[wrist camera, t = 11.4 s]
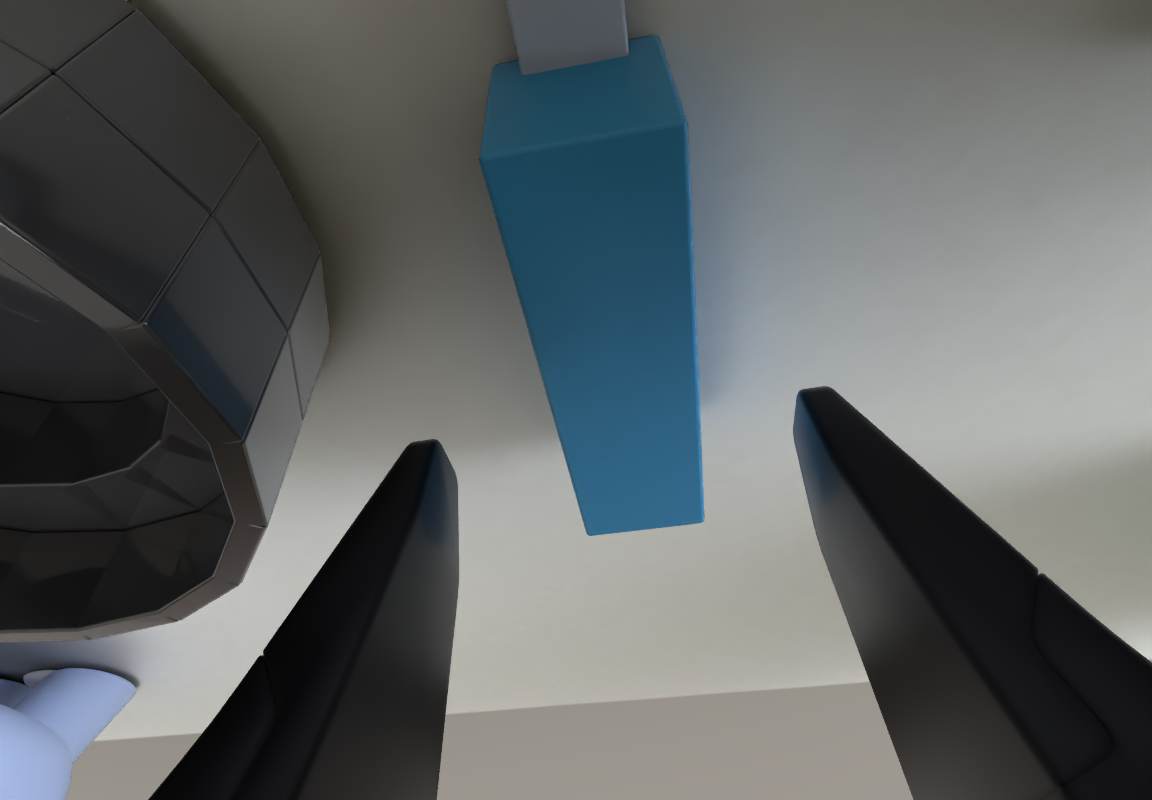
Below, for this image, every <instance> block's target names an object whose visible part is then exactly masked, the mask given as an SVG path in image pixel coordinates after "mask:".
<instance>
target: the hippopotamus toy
mask: <svg viewBox="0 0 1152 800" xmlns="http://www.w3.org/2000/svg"><path fill="white" fill-rule="evenodd" d="M23 680H24V682H25V684H26V685H24V684H21V683H18V682H14V681H10V680H5V679H0V800H65V798H66V796H67V793H68V789H69V785H70V781H71V773H72V764H73V763H74V761H75V760H76V759H77V758H78V757H79V756H80V755H81V754H82V752H84V750H85V749H86V748H87V747H88V746H89V745H90V744H91V743H92V742H93V741H94V739H95V738H96V737H97V736H98V735H99V734H100V733H101V732H102V731H103V730H104V728H105V727H106V726H107V725H108V724H109V723H110V722H111V721H112V720H113V718H114V717H115V716H116V715H117V714H118V713H119V712H120V711H121V710H122V709H123V707H124V706H125V705H126V704H127V703H128V702H129V701H130V700H131V699H132V697H133V696H134V695H135V693H136V688H135V686H134V685H133V684H132V683H131V682H129V681H128V680H126V679H124V678H122V677H119V676H117V675H114V674H111V673H107V672H103V671H99V670H93V669H86V668H65V669H61V670H41V671H35V672H31V673H28V674H26V675H25V676H24V677H23Z"/></svg>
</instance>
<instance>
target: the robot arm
mask: <svg viewBox="0 0 1152 800" xmlns="http://www.w3.org/2000/svg"><path fill="white" fill-rule="evenodd" d="M793 435H794V442H795V447H796V451H797V455H798V460H799V464H800V468H801V472H802V477H803V481H804V485H805V489H806V494H807V498H808V502H809V506H810V511H811V515H812V519H813V523H814V527H815V531H816V535H817V539H818V542H819V545H820V548H821V551H822V554H823V557H824V559H825V562H826V565H827V567H828V570H829V573H830V575H831V578H832V581H833V584H834V586H835V589H836V592H837V594H838V597H839V600H840V602H841V605H842V608H843V611H844V613H845V616H846V619H847V621H848V624H849V627H850V629H851V632H852V635H853V637H854V640H855V643H856V646H857V648H858V651H859V654H860V656H861V659H862V662H863V664H864V667H865V670H866V673H867V675H868V678H869V681H870V683H871V686H872V689H873V691H874V694H875V697H876V700H877V702H878V704H879V707H880V710H881V713H882V716H883V718H884V721H885V724H886V726H887V729H888V732H889V735H890V737H891V740H892V743H893V745H894V748H895V751H896V753H897V756H898V759H899V761H900V764H901V767H902V770H903V772H904V775H905V778H906V780H907V783H908V786H909V788H910V791H911V794H912V797H913V799H914V800H1152V663H1151V662H1150V661H1149V660H1148V659H1147V658H1145V657H1144V656H1143V655H1141V654H1140V653H1139V652H1137V651H1136V650H1135V649H1134V648H1132V647H1131V646H1130V645H1128V644H1127V643H1126V642H1124V641H1123V640H1122V639H1121V638H1119V637H1118V636H1117V635H1115V634H1114V633H1113V632H1112V631H1111V630H1109V629H1108V628H1107V627H1106V626H1105V625H1103V624H1102V623H1101V622H1100V621H1099V620H1097V619H1096V618H1095V617H1094V616H1093V615H1091V614H1090V613H1089V612H1088V611H1087V610H1085V609H1084V608H1083V607H1082V606H1081V605H1080V604H1078V603H1077V602H1076V601H1075V600H1074V599H1072V598H1071V597H1070V596H1069V595H1068V594H1067V593H1065V592H1064V591H1063V590H1062V589H1061V588H1060V587H1059V586H1057V585H1056V584H1055V583H1054V582H1053V581H1052V580H1051V579H1049V578H1048V577H1047V576H1046V575H1045V574H1043V573H1040V574H1038V569H1037V567H1035V566H1034V565H1033V564H1032V563H1031V562H1030V561H1029V560H1028V559H1026V558H1025V557H1024V556H1023V555H1022V554H1021V553H1020V552H1018V551H1017V550H1016V549H1015V548H1014V547H1013V546H1012V545H1010V544H1009V543H1008V542H1007V541H1006V540H1005V539H1004V538H1002V537H1001V536H1000V535H999V534H998V533H997V532H996V531H994V530H993V529H992V528H991V527H990V526H989V525H988V524H986V523H985V522H984V521H983V520H982V519H981V518H980V517H978V516H977V515H976V514H975V513H974V512H973V511H972V510H970V509H969V508H968V507H967V506H966V505H965V504H964V503H962V502H961V501H960V500H959V499H958V498H957V497H956V496H954V495H953V494H952V493H951V492H950V491H949V490H948V489H947V488H945V487H944V486H943V485H942V484H941V483H940V482H939V481H937V480H936V479H935V478H934V477H933V476H932V475H931V474H929V473H928V472H927V471H926V470H925V469H924V468H923V467H921V466H920V465H919V464H918V463H917V462H916V461H915V460H913V459H912V458H911V457H910V456H909V455H908V454H907V453H905V452H904V451H903V450H902V449H901V448H900V447H899V446H897V445H896V444H895V443H894V442H893V441H892V440H891V439H889V438H888V437H887V436H886V435H885V434H884V433H883V432H881V431H880V430H879V429H878V428H877V427H876V426H875V425H873V424H872V423H871V422H870V421H869V420H868V419H867V418H866V417H864V416H863V415H862V414H861V413H860V412H859V411H858V410H856V409H855V408H854V407H853V406H852V405H851V404H850V403H848V402H847V401H846V400H845V399H844V398H843V397H842V396H840V395H839V394H838V393H837V392H836V391H835V390H833V389H832V388H830V387H827V386H822V387H815V388H808V389H802V390H800V391H799V393H798V395H797V399H796V408H795V417H794V425H793ZM458 585H459V532H458V483H457V477H456V474H455V471H454V469H453V467H452V465H451V463H450V461H449V459H448V457H447V455H446V453H445V451H444V449H443V447H442V445H441V443H440V442H439V441H438V440H435V439H431V440H423V441H416V442H412V443H410V444H409V445H408V446H407V447H406V448H405V450H404V451H403V453H402V454H401V455H400V457H399V458H398V460H397V461H396V462H395V464H394V465H393V467H392V468H391V470H390V471H389V472H388V474H387V475H386V477H385V478H384V480H383V481H382V482H381V484H380V485H379V487H378V488H377V489H376V491H375V492H374V494H373V495H372V497H371V498H370V499H369V501H368V502H367V504H366V505H365V507H364V508H363V509H362V511H361V512H360V514H359V515H358V517H357V518H356V519H355V521H354V522H353V524H352V525H351V526H350V528H349V529H348V531H347V532H346V534H345V535H344V536H343V538H342V539H341V541H340V542H339V544H338V545H337V546H336V548H335V549H334V551H333V552H332V554H331V555H330V556H329V558H328V559H327V561H326V562H325V563H324V565H323V566H322V568H321V569H320V571H319V572H318V573H317V575H316V576H315V578H314V579H313V581H312V582H311V583H310V585H309V586H308V588H307V589H306V590H305V592H304V593H303V595H302V596H301V598H300V599H299V600H298V602H297V603H296V605H295V606H294V608H293V609H292V610H291V612H290V613H289V615H288V616H287V618H286V619H285V620H284V622H283V623H282V625H281V626H280V627H279V629H278V630H277V632H276V633H275V635H274V636H273V637H272V639H271V640H270V642H269V643H268V645H267V646H266V647H265V649H264V651H263V655H264V656H263V655H262V656H259V657H258V658H257V660H256V661H255V663H254V664H253V666H252V667H251V668H250V670H249V671H248V673H247V674H246V675H245V677H244V678H243V680H242V681H241V683H240V684H239V685H238V687H237V688H236V689H235V691H234V692H233V693H232V695H231V696H230V698H229V699H228V700H227V702H226V703H225V704H224V706H223V707H222V708H221V710H220V711H219V712H218V714H217V715H216V717H215V718H214V719H213V721H212V722H211V723H210V724H209V726H208V727H207V728H206V729H205V731H204V732H203V733H202V734H201V736H200V737H199V738H198V740H197V741H196V742H195V743H194V744H193V746H192V747H191V748H190V750H189V751H188V752H187V753H186V755H185V756H184V757H183V759H182V760H181V761H180V762H179V763H178V764H177V766H176V767H175V768H174V769H173V770H172V772H171V773H170V774H169V775H168V776H167V778H166V779H165V780H164V781H163V783H162V784H161V785H160V786H159V787H158V789H157V790H156V791H155V792H154V793H153V795H152V796H151V797H150V798H149V799H148V800H436V799H437V790H438V781H439V771H440V770H439V769H440V762H441V752H442V742H443V733H444V723H445V713H446V704H447V694H448V685H449V675H450V665H451V656H452V646H453V637H454V627H455V617H456V608H457V598H458Z"/></svg>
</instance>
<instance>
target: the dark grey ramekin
mask: <svg viewBox="0 0 1152 800" xmlns="http://www.w3.org/2000/svg"><path fill="white" fill-rule="evenodd" d="M259 139H260V137H259V135H258V134H257V133H256V132H255V131H254V130H253V129H252V128H251V127H250V126H249V125H248V124H247V123H246V122H245V121H244V120H243V119H242V118H241V116H240V115H239V114H238V113H237V112H236V111H235V110H234V109H233V108H232V107H231V106H230V105H229V104H228V103H227V102H226V101H225V100H224V99H223V97H222V96H221V95H220V94H219V93H218V92H217V91H216V90H215V89H214V88H213V87H212V86H211V85H210V84H209V83H208V82H207V81H206V80H205V79H204V77H203V76H202V75H201V74H200V73H199V72H198V71H197V70H196V69H195V68H194V67H193V66H192V65H191V64H190V63H189V62H188V61H187V60H186V58H185V57H184V56H183V55H182V54H181V53H180V52H179V51H178V50H177V49H176V48H175V47H174V46H173V45H172V44H171V43H170V42H169V41H168V40H167V38H166V37H165V36H164V35H163V34H162V33H161V32H160V31H159V30H158V29H157V28H156V27H155V26H154V25H153V24H152V23H151V22H150V21H149V20H148V18H147V17H146V16H145V15H144V14H143V13H142V12H141V11H139V10H135V7H134V6H133V5H132V4H130V3H129V2H127V1H126V0H0V642H31V641H68V640H91V639H99V638H104V637H108V636H113V635H118V634H122V633H127V632H131V631H136V630H141V629H145V628H150V627H155V626H159V625H164V624H168V623H173V622H177V621H179V620H182V619H184V618H186V617H187V616H189V615H191V614H192V613H194V612H196V611H197V610H199V609H200V608H202V607H204V606H205V605H207V604H209V603H210V602H212V601H214V600H215V599H217V598H219V597H220V596H222V595H224V594H225V593H227V592H229V591H230V590H232V589H234V588H235V587H237V586H239V584H240V583H241V582H242V581H243V579H244V577H245V575H246V573H247V571H248V568H249V566H250V564H251V562H252V560H253V557H254V555H255V553H256V551H257V549H258V547H259V544H260V542H261V540H262V538H263V536H264V533H265V531H266V529H267V527H268V524H269V521H270V518H271V515H272V512H273V509H274V506H275V503H276V500H277V497H278V494H279V491H280V488H281V485H282V482H283V479H284V476H285V473H286V470H287V467H288V464H289V461H290V458H291V455H292V452H293V449H294V446H295V443H296V440H297V437H298V434H299V431H300V428H301V425H302V422H303V419H304V416H305V413H306V410H307V407H308V404H309V401H310V398H311V395H312V392H313V389H314V386H315V383H316V380H317V377H318V374H319V371H320V368H321V365H322V362H323V359H324V356H325V353H326V350H327V347H328V344H329V341H330V340H329V339H330V333H329V323H328V314H327V305H326V296H325V287H324V277H323V268H322V259H321V253H320V252H319V251H320V249H319V247H318V245H317V243H316V241H315V239H314V237H313V235H312V234H311V232H310V230H309V228H308V226H307V224H306V222H305V220H304V218H303V217H302V215H301V213H300V211H299V209H298V207H297V205H296V203H295V201H294V200H293V198H292V196H291V194H290V192H289V190H288V188H287V186H286V184H285V183H284V181H283V179H282V177H281V175H280V173H279V171H278V169H277V167H276V166H275V164H274V162H273V160H272V158H271V156H270V154H269V152H268V150H267V149H266V147H265V145H264V143H263V141H262V140H259Z"/></svg>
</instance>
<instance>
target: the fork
mask: <svg viewBox="0 0 1152 800" xmlns="http://www.w3.org/2000/svg"><path fill="white" fill-rule="evenodd" d="M505 1H506V6H507V11H508V15H509V20H510V25H511V29H512V34H513V38H514V43H515V48H516V52H517V57H518V61H515V62H510V63H504V64H499V65H495V66H494V67H493V68H492V73H491V80H490V87H489V94H488V101H487V108H486V115H485V122H484V129H483V136H482V143H481V150H480V158H479V161H480V165H481V168H482V172H483V175H484V179H485V182H486V186H487V189H488V192H489V196H490V199H491V203H492V206H493V210H494V213H495V217H496V220H497V224H498V227H499V231H500V234H501V238H502V241H503V245H504V248H505V251H506V255H507V258H508V262H509V265H510V269H511V272H512V276H513V279H514V283H515V286H516V290H517V293H518V297H519V300H520V304H521V307H522V310H523V314H524V317H525V321H526V324H527V328H528V331H529V335H530V338H531V342H532V345H533V349H534V352H535V356H536V359H537V363H538V366H539V370H540V373H541V376H542V380H543V383H544V387H545V390H546V394H547V397H548V401H549V404H550V408H551V411H552V415H553V418H554V422H555V425H556V429H557V432H558V435H559V439H560V442H561V446H562V449H563V453H564V456H565V460H566V463H567V467H568V470H569V474H570V477H571V481H572V484H573V488H574V491H575V494H576V498H577V501H578V505H579V508H580V512H581V515H582V519H583V522H584V526H585V529H586V532H587V534H588V535H590V536H593V535H602V534H611V533H619V532H628V531H637V530H645V529H654V528H662V527H671V526H680V525H688V524H697V523H702V522H703V521H704V497H703V473H702V449H701V425H700V401H699V377H698V353H697V329H696V305H695V281H694V257H693V233H692V208H691V184H690V160H689V136H688V122H687V119H686V116H685V113H684V110H683V107H682V104H681V101H680V98H679V95H678V92H677V89H676V86H675V83H674V80H673V77H672V74H671V71H670V68H669V65H668V62H667V60H666V57H665V54H664V51H663V48H662V45H661V42H660V39H659V37H658V36H655V35H652V36H647V37H642V38H637V39H631V40H628V33H627V22H626V12H625V2H624V0H505Z"/></svg>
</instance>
